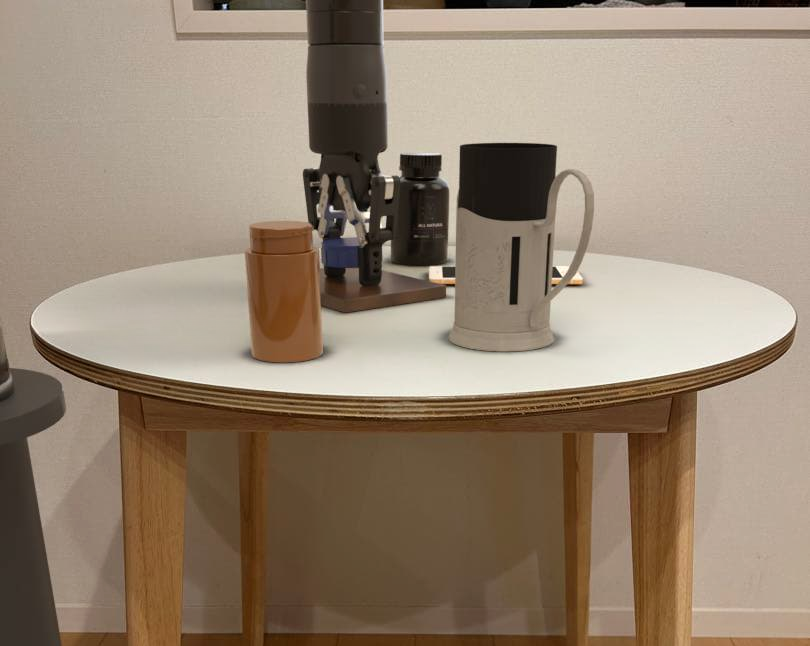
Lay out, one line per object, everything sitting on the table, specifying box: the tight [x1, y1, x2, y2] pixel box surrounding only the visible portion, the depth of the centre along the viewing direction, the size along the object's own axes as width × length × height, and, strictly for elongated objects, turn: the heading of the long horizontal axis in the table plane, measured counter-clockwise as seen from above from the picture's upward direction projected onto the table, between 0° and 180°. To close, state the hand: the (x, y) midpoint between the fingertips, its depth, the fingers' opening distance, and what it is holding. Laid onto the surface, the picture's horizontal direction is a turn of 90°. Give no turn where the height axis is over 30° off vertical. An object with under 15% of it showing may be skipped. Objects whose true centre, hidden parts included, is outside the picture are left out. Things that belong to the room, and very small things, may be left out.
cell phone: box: [428, 265, 584, 285], centre depth 109 cm, size 8×16×1 cm, turn 89°
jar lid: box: [320, 236, 361, 268], centre depth 101 cm, size 6×6×2 cm
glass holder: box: [448, 142, 595, 352], centre depth 79 cm, size 9×14×15 cm, turn 33°
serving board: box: [320, 267, 447, 314], centre depth 102 cm, size 12×16×1 cm
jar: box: [244, 220, 324, 363], centre depth 78 cm, size 6×6×10 cm
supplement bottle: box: [390, 152, 451, 266], centre depth 117 cm, size 7×7×12 cm
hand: (352, 279), depth 102 cm, fingers closed on jar lid, 6 cm apart
